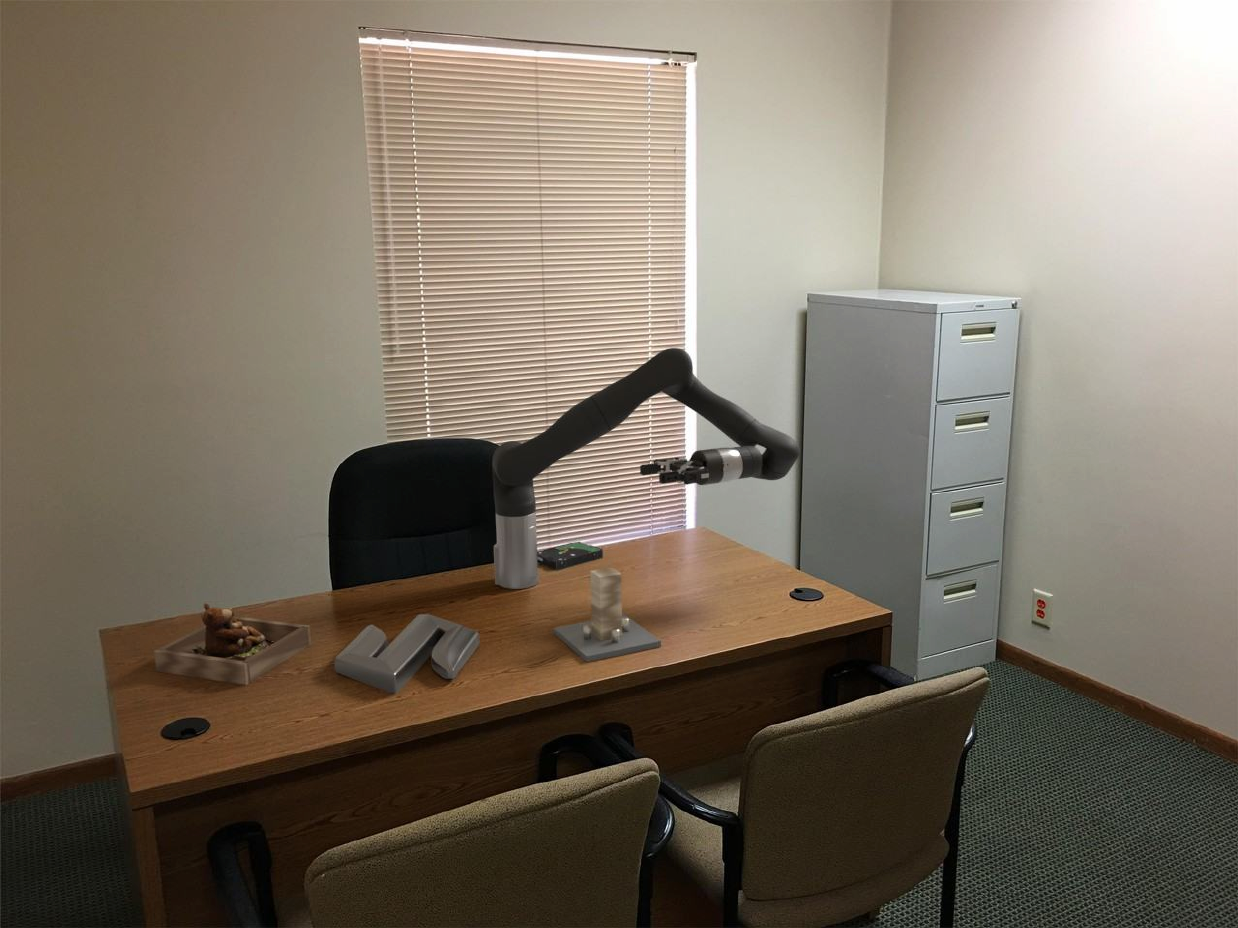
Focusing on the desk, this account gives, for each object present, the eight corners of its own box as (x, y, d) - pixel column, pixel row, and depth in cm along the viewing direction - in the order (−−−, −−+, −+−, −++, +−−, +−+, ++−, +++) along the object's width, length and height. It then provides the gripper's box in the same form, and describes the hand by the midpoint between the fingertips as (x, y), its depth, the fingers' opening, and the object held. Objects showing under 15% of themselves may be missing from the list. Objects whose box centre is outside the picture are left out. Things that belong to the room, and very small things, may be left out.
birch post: (601, 640, 196) (600, 577, 193) (591, 632, 200) (590, 570, 197) (622, 636, 198) (621, 573, 195) (612, 628, 202) (611, 567, 199)
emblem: (499, 649, 183) (343, 676, 172) (500, 676, 184) (346, 705, 173) (461, 600, 208) (323, 621, 197) (462, 624, 209) (325, 647, 198)
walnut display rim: (156, 671, 187) (154, 651, 186) (227, 632, 205) (225, 614, 204) (246, 685, 181) (244, 664, 180) (311, 644, 199) (309, 625, 198)
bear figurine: (278, 662, 191) (272, 602, 188) (194, 679, 184) (187, 617, 181) (264, 638, 203) (259, 581, 200) (185, 654, 195) (178, 595, 193)
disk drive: (557, 573, 241) (603, 559, 251) (557, 562, 241) (603, 548, 250) (532, 563, 249) (578, 550, 258) (531, 552, 248) (577, 539, 258)
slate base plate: (586, 662, 189) (586, 644, 188) (554, 633, 203) (553, 616, 202) (661, 646, 195) (660, 628, 195) (624, 619, 209) (624, 602, 209)
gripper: (699, 443, 221) (634, 450, 214) (734, 454, 208) (666, 463, 201) (699, 475, 222) (634, 484, 215) (734, 489, 210) (666, 499, 203)
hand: (650, 474), depth 208 cm, fingers open, 8 cm apart
